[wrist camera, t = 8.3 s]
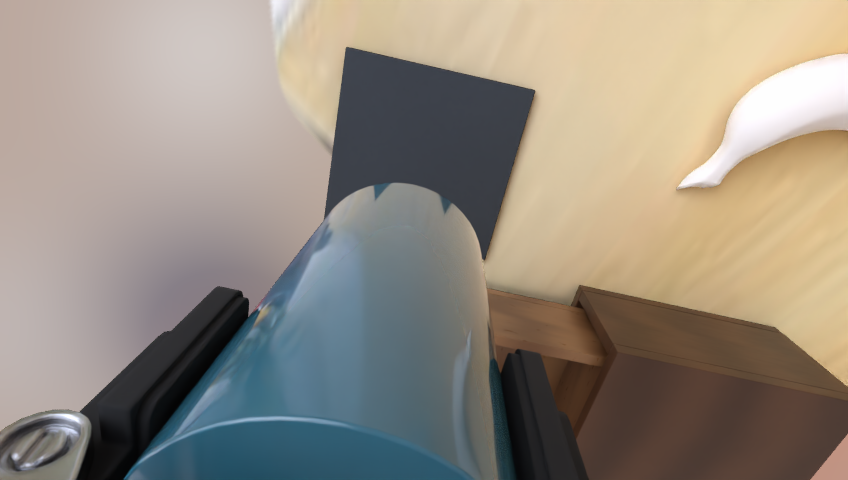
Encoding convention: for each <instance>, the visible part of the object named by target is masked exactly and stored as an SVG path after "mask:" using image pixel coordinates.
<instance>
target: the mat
mask: <svg viewBox="0 0 848 480" xmlns="http://www.w3.org/2000/svg"><path fill="white" fill-rule="evenodd" d="M534 93H535V90H532V89H528V88H523V87H519V86H514V85H510V84H506V83H501V82H497V81H493V80H488V79H484V78H480V77H475V76H471V75H467V74H462V73H458V72H454V71H449V70H445V69H441V68H436V67H432V66H428V65H423V64H419V63H415V62H410V61H406V60H401V59H397V58H393V57H388V56H384V55H380V54H375V53H371V52H367V51H362V50H358V49H354V48H349V47H346V52H345V60H344V67H343V75H342V83H341V91H340V99H339V107H338V114H337V122H336V130H335V138H334V146H333V153H332V161H331V169H330V178H329V185H328V193H327V200H326V208H325V216H324V220H325V218H326V217H327V216H328V214H329V213H330V212H331V211H332V209H333V208H334V207H335V206H336V205H337V204H338V203H339V202H341V201H342V200H343V199H345V198H346V197H347V196H349V195H351V194H352V193H354V192H356V191H358V190H361V189H363V188H366V187H368V186H373V185H377V184H383V183H406V184H413V185H417V186H420V187H424V188H427V189H429V190H431V191H434V192H436V193H438V194H439V195H441V196H443V197H445V198H446V199H448V200H449V201H450V202H451V203H453V204H454V205H455V206H456V207H457V208H458V209H459V210H460V211H461V212H462V213H463V214H464V215H465V217H466V218H467V219H468V221H469V222H470V224H471V226H472V227H473V229H474V231H475V233H476V236H477V238H478V241H479V245H480V250H481V255H482V259H483V260H485V258H486V254H487V251H488V248H489V244H490V241H491V238H492V234H493V231H494V227H495V224H496V221H497V217H498V214H499V211H500V207H501V204H502V201H503V197H504V194H505V191H506V187H507V184H508V180H509V177H510V174H511V170H512V167H513V164H514V160H515V157H516V154H517V150H518V147H519V144H520V140H521V137H522V134H523V130H524V127H525V123H526V120H527V117H528V113H529V110H530V107H531V103H532V100H533V97H534Z"/></svg>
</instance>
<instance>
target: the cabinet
mask: <svg viewBox="0 0 848 480" xmlns="http://www.w3.org/2000/svg"><path fill="white" fill-rule="evenodd" d="M571 306H572V307H577V308H581V309H584V310H585V312H586V314H587V316H588V318H589V320H590V322H591V324H592V325H593V327H594V329H595V331H596V333H597V335H598V337H599V339H600V340H601V342H602V344H603V346H604V348H605V350H606V352H607V354H608V356H607V358H606V360H605V362H604V364H603V366H602V369H601V371H600V373H599V375H598V377H597V379H596V381H595V383H594V386H593V388H592V390H591V392H590V394H589V396H588V398H587V400H586V403H585V405H584V407H583V409H582V411H581V413H580V415H579V417H578V420H577V422H576V424H575V426H574V428H573V432H574V435H575V438H576V441H577V444H578V447H579V450H580V454H581V457H582V460H583V463H584V466H585V469H586V472H587V475H588V478H589V480H810V479H811V478H812V477H813V476H814V474H815V473H816V472H817V471H818V470H819V468H820V467H821V466H822V465H823V463H824V462H825V461H826V460H827V458H828V457H829V456H830V455H831V454H832V452H833V451H834V450H835V449H836V447H837V446H838V445H839V444H840V443H841V441H842V440H843V439H844V438H845V436H846V435H847V434H848V387H847V386H846V385H844V384H843V383H842V382H841V381H840V380H838V379H837V378H836V377H835V376H834V375H832V374H831V373H830V372H829V371H828V370H826V369H825V368H824V367H823V366H821V365H820V364H819V363H818V362H817V361H815V360H814V359H813V358H812V357H811V356H809V355H808V354H807V353H806V352H805V351H803V350H802V349H801V348H800V347H798V346H797V345H796V344H795V343H794V342H792V341H791V340H790V339H789V338H788V337H786V336H785V335H784V334H782V333H781V332H780V331H779V330H778V329H776V328H775V327H771V326H766V325H761V324H757V323H752V322H747V321H743V320H738V319H734V318H729V317H724V316H720V315H715V314H710V313H706V312H701V311H697V310H692V309H687V308H683V307H678V306H674V305H669V304H664V303H660V302H655V301H650V300H646V299H641V298H637V297H632V296H627V295H623V294H618V293H614V292H609V291H604V290H600V289H595V288H590V287H586V286H581V285H579V287H578V290H577V292H576V295H575V297H574V300H573V302H572V305H571Z"/></svg>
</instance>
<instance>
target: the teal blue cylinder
mask: <svg viewBox="0 0 848 480" xmlns="http://www.w3.org/2000/svg"><path fill="white" fill-rule="evenodd" d="M123 480H517V475H516V469H515V462H514V456H513V450H512V443H511V437H510V431H509V425H508V418H507V412H506V406H505V399H504V393H503V387H502V381H501V374H500V368H499V362H498V356H497V349H496V343H495V337H494V330H493V324H492V318H491V312H490V305H489V299H488V293H487V287H486V280H485V274H484V268H483V261H482V255H481V250H480V245H479V241H478V238H477V236H476V233H475V231H474V229H473V227H472V226H471V224H470V222H469V221H468V219H467V218H466V217H465V215H464V214H463V213H462V212H461V211H460V210H459V209H458V208H457V207H456V206H455V205H454V204H453V203H451V202H450V201H449V200H448V199H446V198H445V197H443V196H441V195H439V194H438V193H436V192H434V191H431V190H429V189H427V188H424V187H420V186H417V185H413V184H406V183H383V184H377V185H373V186H368V187H366V188H363V189H361V190H358V191H356V192H354V193H352V194H351V195H349V196H347V197H346V198H345V199H343V200H342V201H341V202H339V203H338V204H337V205H336V206H335V207H334V208H333V209H332V211H331V212H330V213H329V214H328V216H327V217H326V218H325V220H324V221H323V222H322V223H321V225H320V226H319V227H318V229H317V230H316V231H315V232H314V234H313V235H312V236H311V238H310V239H309V240H308V242H307V243H306V244H305V246H304V247H303V248H302V249H301V250H300V252H299V253H298V255H297V256H296V257H295V258H294V259H293V261H292V262H291V263H290V265H289V266H288V267H287V268H286V270H285V271H284V272H283V274H282V275H281V276H280V277H279V279H278V280H277V281H276V282H275V284H274V285H273V286H272V288H271V289H270V291H268V293H267V294H266V295H265V297H264V298H263V299H262V300H261V302H260V303H259V305H258V306H257V307H256V308H255V310H254V311H253V312H252V313H251V315H250V316H249V317H248V318H247V320H246V321H245V322H244V324H243V325H242V326H241V327H240V329H239V330H238V331H237V333H236V334H235V335H234V336H233V338H232V339H231V340H230V342H229V343H228V344H227V345H226V347H225V348H224V349H223V351H222V352H221V353H220V354H219V356H218V357H217V358H216V360H215V361H214V362H213V363H212V365H211V366H210V367H209V368H208V370H207V371H206V372H205V374H204V375H203V376H202V377H201V379H200V380H199V381H198V383H197V384H196V385H195V386H194V388H193V389H192V390H191V392H190V393H189V394H188V395H187V397H186V398H185V399H184V401H183V402H182V403H181V404H180V406H179V407H178V408H177V410H176V411H175V412H174V413H173V415H172V416H171V417H170V419H169V420H168V421H167V422H166V424H165V425H164V426H163V428H162V429H161V430H160V431H159V433H158V434H157V435H156V437H155V438H154V439H153V440H152V442H151V443H150V444H149V445H148V447H147V448H146V449H145V451H144V452H143V453H142V454H141V456H140V457H139V458H138V460H137V461H136V462H135V463H134V465H133V466H132V467H131V469H130V470H129V471H128V473H127V474H126V476H125V477H124V478H123Z"/></svg>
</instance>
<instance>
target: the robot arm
mask: <svg viewBox="0 0 848 480" xmlns="http://www.w3.org/2000/svg"><path fill="white" fill-rule="evenodd" d="M248 311H249V300H248V298H244V297H243V294H242V292H241V291H239V290H234V289H229V288H225V287H220V286H219V287H216V288H215V289H214V290H213V291H212V292H211V293H210V294H209V295H207V297H206V298H204V299H203V300H202V301H201V303H199V304H198V305H197V306H196V307H195V308H194V309H193V310H192V311H191V312H190V313H189V314H188V315H187V316H186V317H185V318H184V319H183V320H182V321H181V322H180V323H179V324H178V325H177V326H176V327H175V328H174V329H173V330H172V331H167V332H164V333H162V334H161V335H160V336H158V337H157V338H156V339H155V340H154V341H153V342H152V343H151V344H150V345H149V346H148V347H147V348H146V349H145V350H144V351H143V352H142V353H141V354H140V355H138V356H137V357H136V358H135V359H134V360H133V361H132V362H131V363H130V364H129V365H128V366H127V367H126V368H125V369H124V370H123V371H122V372H121V373H120V374H119V375H117V376H116V378H114V379H113V380H112V381H111V382H110V383H109V384H108V385H107V386H106V387H105V388H104V389H103V390H102V391H101V392H100V393H99V394H98V395H97V396H95V397H94V398H93V399H92V400H91V401H90V402H89V403H88V404H87V405H86V406H85V407H84V408H83V409H82V410H81V411H80V412H76V411H72V410H51V411H45V412H40V413H36V414H33V415H31V416H28V417H25V418H23V419H20V420H18V421H16V422H14V423H13V424H11V425H9V426H7V427H5V428H4V429H3V430H2V431H0V480H123V478H124V477H125V476H126V474H127V473H128V471H129V470H130V469H131V467H132V466H133V465H134V463H135V462H136V461H137V460H138V458H139V457H140V456H141V454H142V453H143V452H144V451H145V449H146V448H147V447H148V445H149V444H150V443H151V442H152V440H153V439H154V438H155V437H156V435H157V434H158V433H159V431H160V430H161V429H162V428H163V426H164V425H165V424H166V422H167V421H168V420H169V419H170V417H171V416H172V415H173V413H174V412H175V411H176V410H177V408H178V407H179V406H180V404H181V403H182V402H183V401H184V399H185V398H186V397H187V395H188V394H189V393H190V392H191V390H192V389H193V388H194V386H195V385H196V384H197V383H198V381H199V380H200V379H201V377H202V376H203V375H204V374H205V372H206V371H207V370H208V368H209V367H210V366H211V365H212V363H213V362H214V361H215V360H216V358H217V357H218V356H219V354H220V353H221V352H222V351H223V349H224V348H225V347H226V345H227V344H228V343H229V342H230V340H231V339H232V338H233V336H234V335H235V334H236V333H237V331H238V330H239V329H240V327H241V326H242V325H243V324H244V322H245V321H246V320H247V318H248ZM500 374H501V381H502V387H503V393H504V399H505V406H506V412H507V418H508V425H509V431H510V437H511V443H512V450H513V456H514V462H515V469H516V475H517V480H589V478H588V475H587V472H586V469H585V466H584V463H583V460H582V457H581V454H580V450H579V447H578V444H577V441H576V438H575V435H574V432H573V429H572V426H571V423H570V420H569V418H568V416H567V414H566V413H565V412H562V411H558V409H557V406H556V403H555V400H554V396H553V393H552V390H551V386H550V383H549V380H548V377H547V373H546V370H545V367H544V363H543V360H542V357H541V355H540V354H539V353H537V352H532V351H527V350H522V349H517V350H516V351H515V353H508V354H507V357H506V359H505V362H504V365H503V368H502V371H501V373H500Z"/></svg>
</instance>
